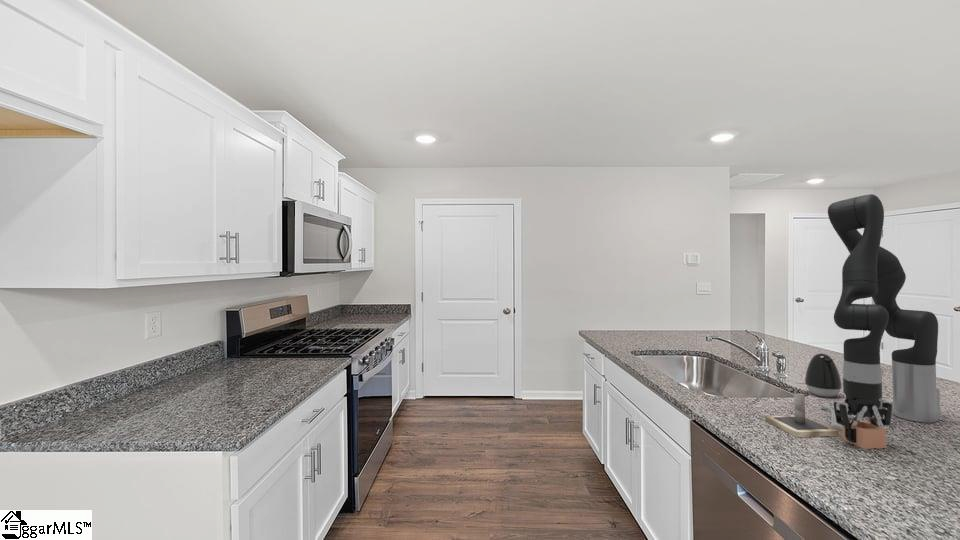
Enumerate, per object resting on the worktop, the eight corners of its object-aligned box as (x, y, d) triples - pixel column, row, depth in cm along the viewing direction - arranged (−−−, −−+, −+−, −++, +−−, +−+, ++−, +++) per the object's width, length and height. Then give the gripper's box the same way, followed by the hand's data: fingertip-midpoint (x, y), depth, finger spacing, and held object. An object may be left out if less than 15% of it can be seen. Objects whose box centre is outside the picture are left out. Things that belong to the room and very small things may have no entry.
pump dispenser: (815, 399, 141) (814, 356, 141) (799, 390, 151) (798, 350, 151) (849, 400, 139) (848, 357, 139) (830, 391, 149) (829, 350, 149)
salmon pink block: (863, 438, 109) (863, 420, 109) (886, 448, 103) (885, 429, 103) (842, 439, 109) (841, 421, 109) (863, 449, 103) (863, 430, 103)
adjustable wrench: (844, 434, 113) (843, 428, 113) (814, 428, 118) (814, 423, 118) (848, 410, 131) (848, 404, 131) (823, 406, 135) (822, 400, 135)
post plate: (803, 419, 123) (802, 387, 123) (838, 436, 111) (838, 400, 111) (765, 421, 123) (764, 388, 123) (796, 437, 111) (795, 401, 111)
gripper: (874, 373, 110) (875, 434, 110) (823, 375, 110) (824, 436, 110) (903, 381, 102) (905, 446, 102) (848, 383, 102) (850, 448, 102)
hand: (863, 440), depth 106 cm, fingers closed on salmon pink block, 6 cm apart
